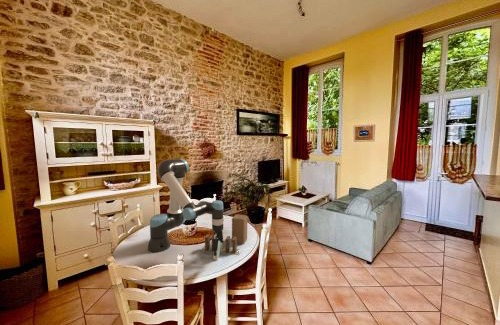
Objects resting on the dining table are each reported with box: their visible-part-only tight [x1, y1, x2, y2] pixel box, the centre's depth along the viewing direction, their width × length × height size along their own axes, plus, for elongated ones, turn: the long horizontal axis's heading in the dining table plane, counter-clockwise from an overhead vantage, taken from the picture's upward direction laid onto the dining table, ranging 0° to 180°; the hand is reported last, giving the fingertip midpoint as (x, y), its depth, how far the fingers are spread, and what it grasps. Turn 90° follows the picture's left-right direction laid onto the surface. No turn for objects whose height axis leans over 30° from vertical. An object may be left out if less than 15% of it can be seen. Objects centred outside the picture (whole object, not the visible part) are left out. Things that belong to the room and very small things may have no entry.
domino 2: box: [224, 235, 231, 253], centre depth 150 cm, size 2×5×10 cm, turn 171°
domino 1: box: [204, 234, 211, 251], centre depth 152 cm, size 2×5×10 cm, turn 171°
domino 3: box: [231, 237, 238, 254], centre depth 149 cm, size 2×5×10 cm, turn 171°
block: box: [231, 213, 248, 245], centre depth 165 cm, size 10×10×20 cm
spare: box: [217, 241, 221, 258], centre depth 143 cm, size 2×5×10 cm, turn 171°
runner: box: [200, 245, 241, 256], centre depth 151 cm, size 28×8×1 cm, turn 81°
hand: (218, 255), depth 144 cm, fingers open, 10 cm apart
